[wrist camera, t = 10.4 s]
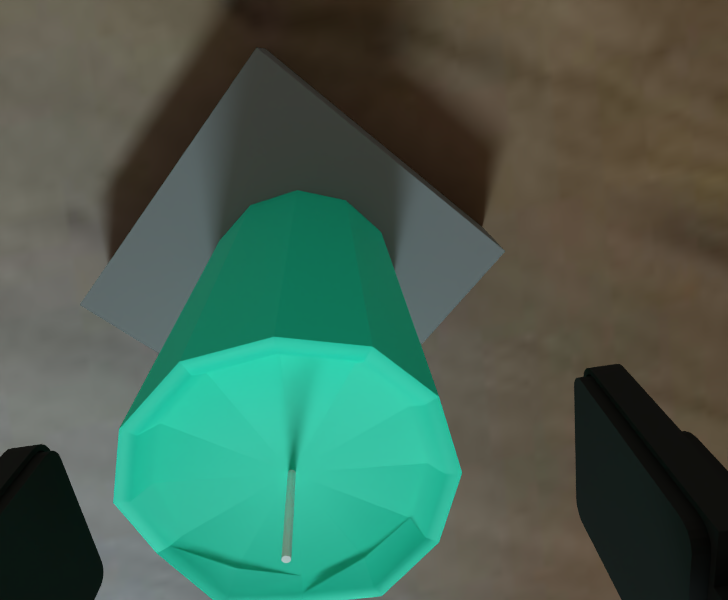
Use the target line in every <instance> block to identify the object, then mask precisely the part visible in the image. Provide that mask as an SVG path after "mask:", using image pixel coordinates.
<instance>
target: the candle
mask: <svg viewBox="0 0 728 600" xmlns="http://www.w3.org/2000/svg"><path fill="white" fill-rule="evenodd" d="M461 475H462V471H461V468H460V464H459V461H458V458H457V455H456V451H455V448H454V445H453V441H452V438H451V435H450V431H449V428H448V425H447V422H446V418H445V415H444V412H443V408H442V405H441V402H440V398H439V395H438V393H437V390H436V387H435V384H434V381H433V378H432V375H431V373H430V370H429V367H428V364H427V361H426V358H425V355H424V353H423V350H422V347H421V344H420V341H419V338H418V335H417V333H416V330H415V327H414V324H413V321H412V318H411V316H410V313H409V310H408V307H407V304H406V301H405V298H404V296H403V293H402V290H401V287H400V284H399V281H398V278H397V276H396V273H395V270H394V267H393V264H392V261H391V258H390V256H389V253H388V250H387V247H386V244H385V241H384V239H383V236H382V233H381V231H380V230H378V229H377V228H376V227H375V226H374V225H373V224H372V223H371V222H369V221H368V220H367V219H366V218H365V217H364V216H363V215H362V214H361V213H359V212H358V211H357V210H356V209H355V208H354V207H353V206H352V205H350V204H349V203H348V202H347V201H346V200H342V199H337V198H333V197H328V196H323V195H318V194H314V193H309V192H304V191H300V190H296V191H293V192H290V193H286V194H283V195H280V196H277V197H274V198H271V199H268V200H265V201H262V202H259V203H255V204H252V205H250V206H249V207H248V208H247V210H246V211H245V212H244V213H243V214H242V215H241V216H240V218H239V219H238V220H237V221H236V222H235V223H234V224H233V226H232V227H231V228H230V229H229V230H228V231H227V233H226V234H225V235H224V236H223V237H222V238H221V239H220V241H219V242H218V244H217V246H216V248H215V250H214V252H213V254H212V256H211V257H210V259H209V261H208V263H207V265H206V267H205V269H204V271H203V272H202V274H201V276H200V278H199V280H198V282H197V284H196V286H195V288H194V289H193V291H192V293H191V295H190V297H189V299H188V301H187V303H186V304H185V306H184V308H183V310H182V312H181V314H180V316H179V318H178V319H177V321H176V323H175V325H174V327H173V329H172V331H171V333H170V334H169V336H168V338H167V340H166V342H165V344H164V346H163V348H162V349H161V351H160V353H159V355H158V357H157V359H156V361H155V363H154V365H153V366H152V368H151V370H150V372H149V374H148V376H147V378H146V380H145V381H144V383H143V385H142V387H141V389H140V391H139V393H138V395H137V396H136V398H135V400H134V402H133V404H132V406H131V408H130V410H129V411H128V413H127V415H126V417H125V419H124V421H123V423H122V425H121V426H120V428H119V437H118V449H117V462H116V474H115V487H114V499H113V503H114V504H115V505H116V506H117V508H118V509H119V510H120V511H121V512H122V513H123V515H124V516H125V517H126V518H127V519H128V520H129V522H130V523H131V524H132V525H133V526H134V527H135V528H136V530H137V531H138V532H139V533H140V534H141V535H142V537H143V538H144V539H145V540H146V541H147V542H148V544H149V545H150V546H151V547H152V548H153V549H154V551H155V552H156V553H157V554H158V555H160V556H161V557H162V558H163V559H164V560H166V561H167V562H168V563H169V564H170V565H172V566H173V567H174V568H175V569H176V570H178V571H179V572H180V573H181V574H183V575H184V576H185V577H186V578H187V579H189V580H190V581H191V582H192V583H193V584H195V585H196V586H197V587H198V588H199V589H201V590H202V591H203V592H204V593H205V594H207V595H208V596H209V597H210V598H211V599H213V600H350V599H359V598H369V597H378V596H382V595H383V594H385V593H386V592H387V591H388V590H389V589H390V588H391V587H392V586H393V585H394V584H395V583H396V582H397V581H398V580H399V579H400V578H402V577H403V576H404V575H405V574H406V573H407V572H408V571H409V570H410V569H411V568H412V567H413V566H414V565H415V564H416V563H417V562H419V561H420V560H421V559H422V558H423V557H424V556H425V555H426V554H427V553H428V552H429V551H430V550H431V549H432V548H433V547H435V546H436V545H437V544H438V543H439V541H440V538H441V535H442V532H443V529H444V526H445V523H446V520H447V517H448V514H449V511H450V508H451V505H452V502H453V499H454V496H455V493H456V490H457V487H458V484H459V481H460V478H461Z"/></svg>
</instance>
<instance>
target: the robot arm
mask: <svg viewBox="0 0 728 600" xmlns="http://www.w3.org/2000/svg"><path fill="white" fill-rule="evenodd" d="M574 399H575V451H576V500H577V507H578V512H579V515H580V518H581V521H582V523H583V525H584V527H585V529H586V531H587V533H588V535H589V537H590V539H591V541H592V542H593V544H594V546H595V548H596V550H597V552H598V554H599V556H600V558H601V560H602V562H603V564H604V566H605V568H606V570H607V572H608V574H609V576H610V578H611V580H612V582H613V584H614V586H615V588H616V590H617V592H618V594H619V596H620V598H621V599H622V600H728V471H727V470H726V469H725V468H724V467H723V465H722V464H721V463H720V462H719V461H718V460H717V459H716V458H715V457H714V456H713V455H712V454H711V453H710V451H709V450H708V449H707V448H706V447H705V446H704V445H703V444H702V443H701V442H700V441H699V440H698V438H696V437H695V436H694V435H693V434H692V433H690V432H686V431H681V430H680V429H679V428H678V427H677V426H676V425H675V424H674V423H673V421H672V420H671V419H670V418H669V417H668V416H667V415H666V414H665V413H664V411H663V410H662V409H661V408H660V407H659V406H658V405H657V404H656V403H655V401H654V400H653V399H652V398H651V397H650V396H649V395H648V394H647V393H646V392H645V390H644V389H643V388H642V387H641V386H640V385H639V384H638V383H637V382H636V380H635V379H634V378H633V377H632V376H631V375H630V374H629V373H628V372H627V370H626V369H625V368H624V367H623V366H622V365H620V364H614V365H607V366H599V367H592V368H587V369H586V370H585V372H584V377H580V378H576V379H575V383H574ZM102 579H103V565H102V561H101V559H100V556H99V554H98V551H97V549H96V546H95V544H94V541H93V539H92V536H91V533H90V531H89V528H88V526H87V523H86V521H85V518H84V516H83V513H82V511H81V508H80V506H79V503H78V501H77V498H76V496H75V493H74V491H73V488H72V486H71V483H70V481H69V478H68V475H67V473H66V470H65V468H64V465H63V463H62V460H61V458H60V456H59V454H58V453H57V452H55V451H50V449H49V448H48V447H47V446H46V445H42V444H40V445H33V446H25V447H18V448H12V449H8V450H7V451H6V452H4V453H3V455H2V456H1V457H0V600H94V599H95V597H96V595H97V593H98V590H99V588H100V586H101V583H102Z"/></svg>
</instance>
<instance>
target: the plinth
mask: <svg viewBox="0 0 728 600" xmlns="http://www.w3.org/2000/svg"><path fill="white" fill-rule="evenodd" d="M296 190H300V191H304V192H309V193H314V194H318V195H323V196H328V197H333V198H337V199H342V200H346V201H347V202H348V203H349V204H350V205H352V206H353V207H354V208H355V209H356V210H357V211H358V212H359V213H361V214H362V215H363V216H364V217H365V218H366V219H367V220H368V221H369V222H371V223H372V224H373V225H374V226H375V227H376V228H377V229H378V230H380V231H381V233H382V236H383V239H384V241H385V244H386V247H387V250H388V253H389V256H390V258H391V261H392V264H393V267H394V270H395V273H396V276H397V278H398V281H399V284H400V287H401V290H402V293H403V296H404V298H405V301H406V304H407V307H408V310H409V313H410V316H411V318H412V321H413V324H414V327H415V330H416V333H417V335H418V338H419V341H420V344H422V343H423V342H424V341H425V340H426V339H427V338H428V336H429V335H430V334H431V333H432V332H433V331H434V330H435V329H436V328H437V326H438V325H439V324H440V323H441V322H442V321H443V320H444V319H445V318H446V316H447V315H448V314H449V313H450V312H451V311H452V310H453V309H454V308H455V306H456V305H457V304H458V303H459V302H460V301H461V300H462V299H463V298H464V296H465V295H466V294H467V293H468V292H469V291H470V290H471V289H472V288H473V286H474V285H475V284H476V283H477V282H478V281H479V280H480V279H481V278H482V276H483V275H484V274H485V273H486V272H487V271H488V270H489V269H490V268H491V266H492V265H493V264H494V263H495V262H496V261H497V260H498V259H499V258H500V256H501V255H502V254H503V253H504V252H505V250H504V249H503V248H502V247H501V246H500V245H499V244H498V243H497V242H496V241H495V240H494V239H493V238H492V237H491V236H490V235H489V234H488V233H487V232H486V231H485V229H484V228H483V227H481V226H480V225H479V224H478V223H477V222H475V221H474V220H473V219H472V218H470V217H469V216H468V215H467V214H466V213H464V212H463V211H462V210H461V209H460V208H458V207H457V206H456V205H455V204H453V203H452V202H451V201H450V200H449V199H447V198H446V197H445V196H444V195H443V194H441V193H440V192H439V191H438V190H436V189H435V188H434V187H433V186H432V185H430V184H429V183H428V182H427V181H426V180H424V179H423V178H422V177H421V176H419V175H418V174H417V173H416V172H415V171H413V170H412V169H411V168H410V167H409V166H407V165H406V164H405V163H404V162H402V161H401V160H400V159H399V158H398V157H396V156H395V155H394V154H393V153H392V152H390V151H389V150H388V149H387V148H385V147H384V146H383V145H382V144H381V143H379V142H378V141H377V140H376V139H374V138H373V137H372V136H371V135H370V134H368V133H367V132H366V131H365V130H364V129H362V128H361V127H360V126H359V125H357V124H356V123H355V122H354V121H353V120H351V119H350V118H349V117H348V116H347V115H345V114H344V113H343V112H342V111H340V110H339V109H338V108H337V107H336V106H334V105H333V104H332V103H331V102H330V101H328V100H327V99H326V98H325V97H323V96H322V95H321V94H320V93H319V92H317V91H316V90H315V89H314V88H313V87H311V86H310V85H309V84H308V83H306V82H305V81H304V80H303V79H302V78H300V77H299V76H298V75H297V74H296V73H294V72H293V71H292V70H291V69H289V68H288V67H287V66H286V65H285V64H283V63H282V62H281V61H280V60H279V59H277V58H276V57H275V56H274V55H272V54H271V53H270V52H269V51H268V50H266V49H265V48H256V49H255V50H254V52H253V53H252V55H251V56H250V58H249V59H248V61H247V62H246V64H245V65H244V66H243V68H242V69H241V71H240V72H239V74H238V75H237V77H236V78H235V80H234V81H233V82H232V84H231V85H230V87H229V88H228V90H227V91H226V93H225V94H224V96H223V97H222V98H221V100H220V101H219V103H218V104H217V106H216V107H215V109H214V110H213V112H212V113H211V114H210V116H209V117H208V119H207V120H206V122H205V123H204V125H203V126H202V128H201V129H200V131H199V132H198V133H197V135H196V136H195V138H194V139H193V141H192V142H191V144H190V145H189V147H188V148H187V149H186V151H185V152H184V154H183V155H182V157H181V158H180V160H179V161H178V163H177V164H176V165H175V167H174V168H173V170H172V171H171V173H170V174H169V176H168V177H167V179H166V180H165V181H164V183H163V184H162V186H161V187H160V189H159V190H158V192H157V193H156V195H155V196H154V197H153V199H152V200H151V202H150V203H149V205H148V206H147V208H146V209H145V211H144V212H143V213H142V215H141V216H140V218H139V219H138V221H137V222H136V224H135V225H134V227H133V228H132V230H131V231H130V232H129V234H128V235H127V237H126V238H125V240H124V241H123V243H122V244H121V246H120V247H119V248H118V250H117V251H116V253H115V254H114V256H113V257H112V259H111V260H110V262H109V263H108V264H107V266H106V267H105V269H104V270H103V272H102V273H101V275H100V276H99V278H98V279H97V280H96V282H95V283H94V285H93V286H92V288H91V289H90V291H89V292H88V294H87V295H86V296H85V298H84V299H83V301H82V302H81V304H80V305H81V306H82V307H84V308H86V309H87V310H89V311H91V312H92V313H94V314H96V315H97V316H99V317H100V318H102V319H104V320H105V321H107V322H109V323H110V324H112V325H113V326H115V327H117V328H118V329H120V330H122V331H123V332H125V333H127V334H128V335H130V336H131V337H133V338H135V339H136V340H138V341H140V342H141V343H143V344H144V345H146V346H148V347H149V348H151V349H153V350H154V351H156V352H158V353H160V351H161V349H162V348H163V346H164V344H165V342H166V340H167V338H168V336H169V334H170V333H171V331H172V329H173V327H174V325H175V323H176V321H177V319H178V318H179V316H180V314H181V312H182V310H183V308H184V306H185V304H186V303H187V301H188V299H189V297H190V295H191V293H192V291H193V289H194V288H195V286H196V284H197V282H198V280H199V278H200V276H201V274H202V272H203V271H204V269H205V267H206V265H207V263H208V261H209V259H210V257H211V256H212V254H213V252H214V250H215V248H216V246H217V244H218V242H219V241H220V239H221V238H222V237H223V236H224V235H225V234H226V233H227V231H228V230H229V229H230V228H231V227H232V226H233V224H234V223H235V222H236V221H237V220H238V219H239V218H240V216H241V215H242V214H243V213H244V212H245V211H246V210H247V208H248V207H249V206H250V205H252V204H255V203H259V202H262V201H265V200H268V199H271V198H274V197H277V196H280V195H283V194H286V193H290V192H293V191H296Z"/></svg>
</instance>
